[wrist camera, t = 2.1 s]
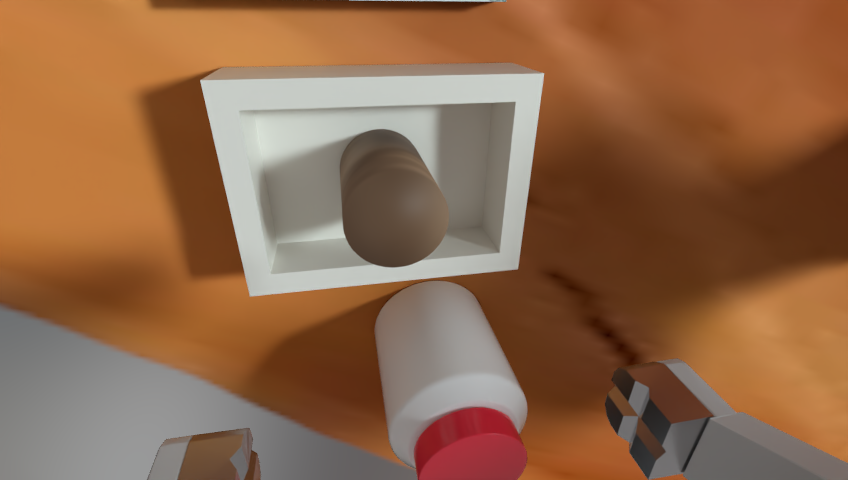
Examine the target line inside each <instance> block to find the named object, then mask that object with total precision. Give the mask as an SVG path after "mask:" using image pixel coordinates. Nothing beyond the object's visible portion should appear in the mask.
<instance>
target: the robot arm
mask: <svg viewBox="0 0 848 480" xmlns="http://www.w3.org/2000/svg"><path fill="white" fill-rule="evenodd" d="M612 381H613V383H614V384H615V387H614V388H613V389H612V390H611V391H610V392H609V393H608V394H607V398H606V402H605V407H606V413H607V417H608V419H609V422H610V424H611V426H612V427H613V429H614V430H615V432H616V433H617V435H618V436H620V437H622V438H623V439H625V440H626V441H628V442H629V453H630V454H631V455H632V457H633V458H634V460H635V461H636V463H637V464H638V466H639V467H640V469H641V470H642V471H643V473H644V474H645V476H646V477H647V479H648V480H649V479H654V478H660V477H665V476H671V475H677V474H682V473H684V474H683V476H684V477H685V478H687V479H688V480H848V463H846V462H844V461H842V460H840V459H838V458H836V457H834V456H832V455H830V454H828V453H826V452H823V451H821V450H819V449H817V448H815V447H813V446H811V445H809V444H807V443H805V442H803V441H801V440H799V439H797V438H795V437H793V436H791V435H789V434H787V433H784V432H782V431H780V430H778V429H776V428H774V427H772V426H770V425H768V424H766V423H764V422H762V421H760V420H758V419H756V418H754V417H752V416H750V415H748V414H745V413H743V412H739V413H736V412H735V411H734V410H733V409H732V408H731V407H730V406H729V405H728V404H727V403H726V402H725V401H724V400H723V399H722V398H721V397H720V396H719V395H718V394H717V393H716V392H715V391H714V390H713V389H712V388H711V387H710V386H709V385H708V384H707V383H706V382H705V381H703V380H702V379H701V378H700V377H699V376H698V375H697V374H696V373H695V372H694V371H693V370H692V369H691V368H690V367H689V366H688V365H687V364H686V363H685V362H684V361H682V360H680V359H678V358H677V359H670V360H664V361H658V362H649V363H644V364H638V365H632V366H627V367H621V368H618V369H617V370H616V371H615V372H614V374H613V377H612ZM252 441H253V437H252V434H251V431H250V429H249V428H244V429H236V430H229V431H221V432H214V433H206V434H199V435H193V436H186V437H179V438H172V439H166V440H165V441H164V442H163V444H162V445H161V446H160V448H159V450H158V453H157V455H156V458H155V461H154V463H153V466H152V468H151V471H150V474H149V476H148V479H147V480H260V465H259V459H258V455H257V453H256V452H254V451H252V450H251V448H252Z"/></svg>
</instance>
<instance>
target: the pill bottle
mask: <svg viewBox="0 0 848 480" xmlns="http://www.w3.org/2000/svg"><path fill="white" fill-rule="evenodd" d="M375 342H376V349H377V357H378V364H379V372H380V379H381V387H382V394H383V401H384V409H385V416H386V424H387V431H388V438H389V442H390V445H391V448H392V450H393V452H394V453H395V455H396V456H397V457H398V458H399V459H400V460H401V461H402V462H404V463H405V464H406V465H408V466H410V467H412V468H414V469H416V472H417V478H418V480H517V479H518V478H519V477H520V475H521V474H522V473H523V471H524V469H525V467H526V463H527V452H526V449H525V447H524V445H523V442H522V440H521V438H520V436H519V435H520V433H521V431H522V429H523V427H524V425H525V423H526V419H527V414H528V409H527V400H526V398H525V395H524V393H523V390H522V388H521V386H520V384H519V382H518V380H517V378H516V376H515V374H514V372H513V370H512V368H511V366H510V364H509V362H508V360H507V358H506V356H505V354H504V352H503V350H502V348H501V346H500V344H499V342H498V340H497V338H496V336H495V334H494V332H493V330H492V328H491V326H490V324H489V322H488V320H487V318H486V316H485V314H484V312H483V310H482V308H481V306H480V304H479V302H478V300H477V299H476V297H475V296H474V295H473V294H472V293H471V292H470V291H469V290H467V289H466V288H464V287H462V286H460V285H458V284H455V283H452V282H448V281H437V280H436V281H425V282H421V283H417V284H414V285H412V286H409V287H407V288H405V289H403V290H401V291H400V292H398V293H397V294H395V295H394V296H393V297H392V298H391V299H389V300H388V301H387V302H386V304H385V305H384V306H383V308H382V309H381V310H380V312H379V315H378V317H377V319H376V323H375Z"/></svg>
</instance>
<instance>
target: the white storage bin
mask: <svg viewBox="0 0 848 480" xmlns="http://www.w3.org/2000/svg"><path fill="white" fill-rule="evenodd" d="M543 79H544V73H541V72H538V71H535V70H532V69H529V68H526V67H523V66H520V65H517V64H514V63H463V64H399V65H334V66H269V67H222V68H220V69H218V70H217V71H215V72H213V73H212V74H210V75H208V76H207V77H205V78H203V79H201V80H200V82H201V87H202V91H203V95H204V99H205V104H206V108H207V112H208V117H209V121H210V125H211V130H212V134H213V138H214V143H215V147H216V151H217V156H218V160H219V164H220V169H221V173H222V177H223V182H224V186H225V190H226V195H227V199H228V203H229V208H230V212H231V216H232V221H233V225H234V229H235V234H236V238H237V242H238V247H239V251H240V255H241V260H242V264H243V268H244V273H245V277H246V281H247V286H248V290H249V294H250V296H259V295H269V294H279V293H289V292H299V291H308V290H318V289H328V288H338V287H348V286H358V285H368V284H378V283H388V282H397V281H407V280H417V279H427V278H437V277H447V276H457V275H467V274H477V273H486V272H496V271H506V270H516V269H518V265H519V258H520V250H521V243H522V235H523V228H524V221H525V213H526V206H527V198H528V191H529V183H530V176H531V168H532V161H533V153H534V146H535V138H536V131H537V123H538V116H539V108H540V101H541V94H542V86H543ZM374 129H387V130H392V131H395V132H398V133H400V134H402V135H403V136H405V137H406V138H407V139H409V140H410V141H411V143H412V144H413V145H414V146H415V148H416V150H417V151H418V153H419V155H420V156H421V158H422V160H423V161H424V163H425V165H426V166H427V168H428V170H429V172H430V173H431V175H432V177H433V178H434V180H435V182H436V183H437V185H438V187H439V188H440V190H441V192H442V194H443V195H444V197H445V199H446V202H447V205H448V210H449V223H448V228H447V231H446V234H445V236H444V238H443V240H442V242H441V243H440V244H439V246H438V247H437V248H436V249H435V250H434V251H433V252H432V253H431V254H430V255H429V256H427V257H426V258H424V259H423V260H421V261H419V262H417V263H414V264H412V265H408V266H404V267H395V268H390V267H382V266H377V265H374V264H372V263H369V262H367V261H365V260H364V259H362V258H361V257H360V256H358V255H357V254H356V253H355V252H354V251H353V250H352V248H351V247H350V245H349V244H348V242H347V240H346V237H345V234H344V230H343V219H342V202H341V184H340V161H341V157H342V154H343V152H344V150H345V148H346V147H347V146H348V144H349V143H350V142H351V141H352V140H353V139H354V138H356V137H357V136H358V135H360V134H362V133H364V132H367V131H370V130H374Z"/></svg>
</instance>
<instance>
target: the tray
mask: <svg viewBox="0 0 848 480" xmlns="http://www.w3.org/2000/svg"><path fill="white" fill-rule="evenodd" d="M351 1H455V2H506V0H351Z"/></svg>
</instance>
